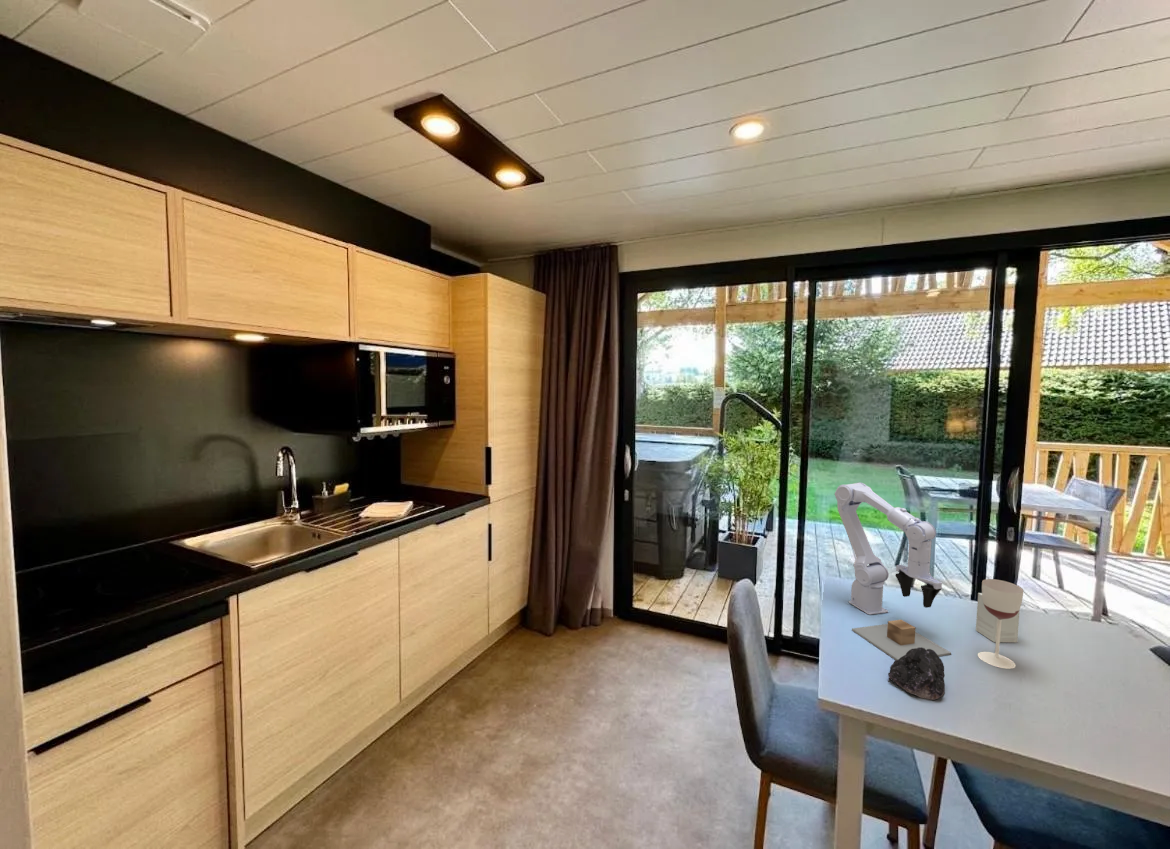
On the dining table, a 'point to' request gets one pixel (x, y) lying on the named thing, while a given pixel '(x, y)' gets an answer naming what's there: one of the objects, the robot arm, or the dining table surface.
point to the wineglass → (1000, 614)
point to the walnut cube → (901, 632)
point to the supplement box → (995, 624)
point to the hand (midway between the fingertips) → (916, 601)
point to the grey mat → (891, 648)
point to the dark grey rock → (920, 673)
